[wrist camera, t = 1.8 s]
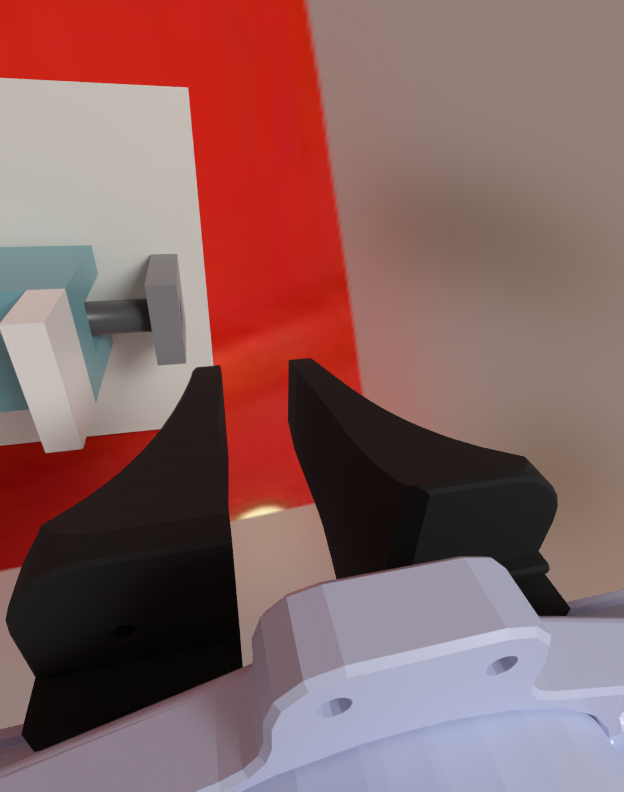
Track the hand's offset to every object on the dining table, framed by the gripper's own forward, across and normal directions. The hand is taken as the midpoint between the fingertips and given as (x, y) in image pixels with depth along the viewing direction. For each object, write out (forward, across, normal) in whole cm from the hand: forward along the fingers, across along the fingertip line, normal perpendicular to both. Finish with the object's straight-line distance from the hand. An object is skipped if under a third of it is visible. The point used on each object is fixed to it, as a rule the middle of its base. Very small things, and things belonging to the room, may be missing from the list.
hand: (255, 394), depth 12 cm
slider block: (+8, +7, 0) cm, 11 cm away
